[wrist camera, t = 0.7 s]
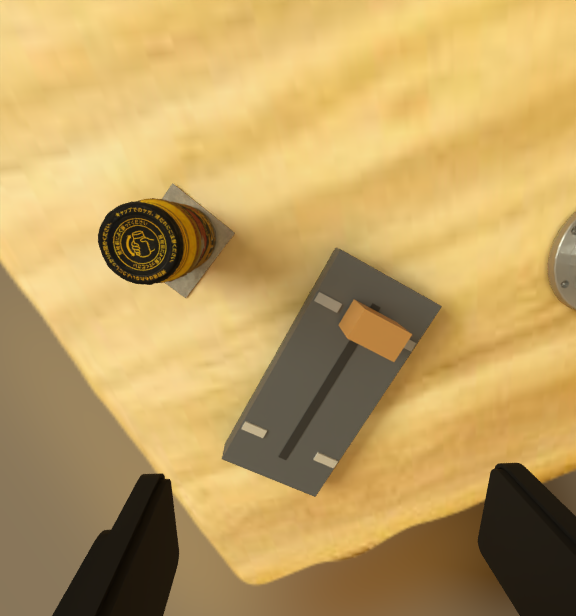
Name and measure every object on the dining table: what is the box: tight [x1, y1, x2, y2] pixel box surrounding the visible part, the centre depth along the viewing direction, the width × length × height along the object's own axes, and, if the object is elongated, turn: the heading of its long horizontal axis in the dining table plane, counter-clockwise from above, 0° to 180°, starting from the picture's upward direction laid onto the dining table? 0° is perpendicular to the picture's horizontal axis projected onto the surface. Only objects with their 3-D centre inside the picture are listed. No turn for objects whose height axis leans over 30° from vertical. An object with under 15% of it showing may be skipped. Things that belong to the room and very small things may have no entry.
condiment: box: [98, 183, 235, 298], centre depth 26 cm, size 7×8×12 cm
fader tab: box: [339, 299, 412, 362], centre depth 30 cm, size 3×5×4 cm, turn 62°
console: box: [222, 248, 442, 497], centre depth 35 cm, size 26×12×3 cm, turn 152°
